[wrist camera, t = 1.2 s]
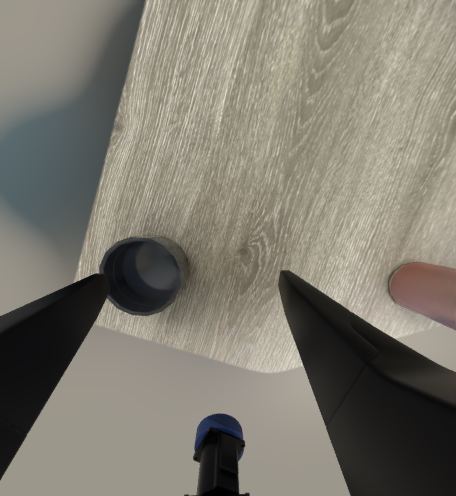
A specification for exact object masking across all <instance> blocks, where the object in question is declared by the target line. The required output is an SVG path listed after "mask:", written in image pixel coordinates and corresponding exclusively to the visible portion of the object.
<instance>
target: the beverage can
mask: <svg viewBox="0 0 456 496" xmlns="http://www.w3.org/2000/svg"><path fill="white" fill-rule="evenodd" d="M389 290H390V293H391V295H392V297H393V298H394V300H395V301H396V302H397V303H398V304H400V305H401V306H403V307H406V308H408V309H410V310H412V311H414V312H417V313H419V314H421V315H423V316H425V317H427V318H430V319H432V320H434V321H436V322H438V323H441V324H443V325H445V326H447V327H450V328H452V329H454V330H456V269H454V268H449V267H443V266H438V265H433V264H427V263H422V262H413V263H409V264H406V265H404V266H401V267H400V268H398V269H397V270H396V271H395V272H394V273H393V275H392V276H391V278H390V282H389Z"/></svg>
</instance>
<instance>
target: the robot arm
mask: <svg viewBox="0 0 456 496" xmlns="http://www.w3.org/2000/svg"><path fill="white" fill-rule="evenodd" d="M278 286H279V291H280V295H281V299H282V304H283V308H284V312H285V315H286V318H287V321H288V324H289V327H290V329H291V332H292V335H293V338H294V340H295V343H296V346H297V349H298V351H299V354H300V357H301V360H302V363H303V365H304V368H305V371H306V373H307V376H308V379H309V382H310V385H311V387H312V390H313V393H314V396H315V398H316V401H317V404H318V407H319V409H320V412H321V415H322V417H323V420H324V423H325V425H326V426H327V427H326V429H327V432H328V434H329V437H330V440H331V443H332V445H333V448H334V451H335V454H336V456H337V459H338V462H339V465H340V468H341V470H342V473H343V476H344V479H345V481H346V484H347V487H348V489H349V492H350V495H351V496H456V372H454V371H452V370H449V369H447V368H445V367H443V366H441V365H439V364H437V363H435V362H433V361H432V360H430V359H428V358H426V357H425V356H423V355H421V354H419V353H418V352H416V351H414V350H412V349H411V348H409V347H408V346H406V345H404V344H403V343H401V342H399V341H397V340H396V339H394V338H392V337H391V336H389V335H387V334H386V333H384V332H382V331H381V330H379V329H377V328H376V327H374V326H372V325H371V324H369V323H368V322H366V321H365V320H363V319H362V318H360V317H358V316H357V315H355V314H354V313H352V312H350V311H349V310H348V309H346V308H345V307H343V306H342V305H340V304H339V303H337V302H336V301H334V300H333V299H331V298H330V297H328V296H327V295H325V294H324V293H322V292H321V291H319V290H318V289H316V288H315V287H313V286H312V285H310V284H309V283H307V282H306V281H304V280H303V279H301V278H300V277H298V276H297V275H295V274H294V273H292V272H291V271H289V270H282V271H281V272H280V277H279V283H278ZM110 288H111V287H110V284H109V281H108V279H107V277H106V275H105V274H103V273H96V274H93V275H91V276H89V277H86V278H84V279H82V280H80V281H77V282H75V283H73V284H71V285H69V286H66V287H64V288H62V289H60V290H58V291H55V292H53V293H51V294H49V295H47V296H44V297H42V298H40V299H38V300H35V301H33V302H31V303H29V304H26V305H24V306H22V307H20V308H18V309H15V310H13V311H11V312H9V313H7V314H4V315H2V316H0V480H1V478H2V476H3V475H4V473H5V471H6V470H7V468H8V466H9V465H10V463H11V461H12V460H13V458H14V456H15V455H16V453H17V451H18V450H19V448H20V446H21V445H22V443H23V441H24V440H25V438H26V436H27V434H28V432H29V431H30V429H31V427H32V426H33V424H34V422H35V421H36V419H37V418H38V416H39V414H40V412H41V411H42V409H43V407H44V406H45V404H46V402H47V401H48V399H49V398H50V396H51V394H52V392H53V391H54V389H55V387H56V386H57V384H58V382H59V381H60V379H61V377H62V376H63V374H64V372H65V371H66V369H67V367H68V366H69V364H70V362H71V361H72V359H73V357H74V356H75V354H76V352H77V351H78V349H79V347H80V345H81V344H82V342H83V341H84V339H85V337H86V336H87V334H88V332H89V331H90V329H91V327H92V326H93V324H94V322H95V321H96V319H97V317H98V315H99V313H100V311H101V309H102V307H103V304H104V302H105V300H106V298H107V296H108V294H109V292H110ZM244 447H245V441H244V440H242V439H240V438H237V437H235V436H233V435H230V434H228V433H226V432H223V431H221V430H219V429H216V428H214V427H210V428H209V429H208V431H207V432H206V434H205V436H204V438H203V439H202V441H201V443H200V445H199V446H198V448H197V450H196V452H195V453H194V456H193V459H194V461H197V462H199V463H200V469H199V478H198V487H197V495H195V496H249V493H245V494H239V480H238V457H239V455H240V454H241V452H242V450H243V449H244ZM184 496H189V495H184ZM193 496H194V495H193Z"/></svg>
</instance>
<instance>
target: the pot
mask: <svg viewBox="0 0 456 496" xmlns="http://www.w3.org/2000/svg"><path fill="white" fill-rule="evenodd" d="M188 272H189V267H188V261H187V258H186V256H185V254H184V252H183V250H182V249H181V248H180V247H179V246H178V245H177V244H176V243H175V242H174V241H172V240H170V239H168V238H166V237H163V236H158V235H143V236H135V237H130V238H127V239H124V240H121V241H118V242H117V243H115V244H114V245H113V246H112V247H111V248H110V249H109V250H108V251H107V252H106V253H105V255H104V257H103V260H102V262H101V264H100V267H99V273H103V274H105V275H106V277H107V279H108V281H109V284H110V287H111V288H110V292H109V294H108V296H107V299H108V300H109V301H110V302H111V303H112V304H113V305H114V306H115V307H116V308H118V309H120V310H122V311H124V312H126V313H129V314H131V315H140V316H149V315H152V314H155V313H159V312H162V311H163V310H164V309H166V308H167V307H168V306H169V305H170V304H172V303H173V302H174V300H175V299H176V298H177V296H178V295H179V293H180V292H181V290H182V288H183V286H184V285H185V283H186V280H187V277H188Z"/></svg>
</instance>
